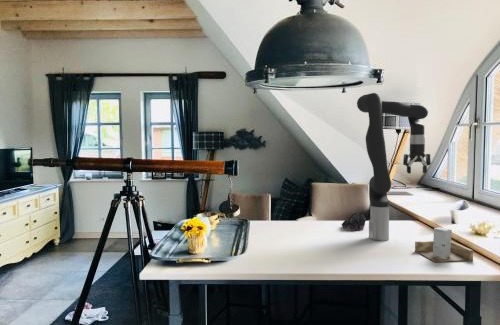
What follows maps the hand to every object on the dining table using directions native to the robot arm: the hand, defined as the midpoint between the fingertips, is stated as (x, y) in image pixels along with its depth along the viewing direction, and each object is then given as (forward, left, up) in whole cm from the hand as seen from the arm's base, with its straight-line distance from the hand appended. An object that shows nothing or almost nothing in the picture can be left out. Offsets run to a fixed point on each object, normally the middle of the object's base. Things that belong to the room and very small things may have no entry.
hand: (416, 173), depth 220 cm
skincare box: (-10, -43, -33) cm, 55 cm away
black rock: (-30, +16, -33) cm, 47 cm away
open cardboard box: (-9, -41, -33) cm, 53 cm away
